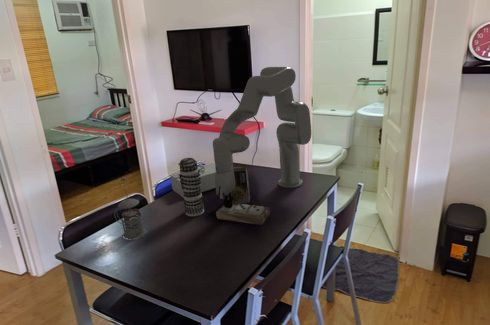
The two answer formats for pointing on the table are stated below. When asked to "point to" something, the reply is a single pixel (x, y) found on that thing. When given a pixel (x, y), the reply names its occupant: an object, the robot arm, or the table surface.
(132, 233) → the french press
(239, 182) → the coffee box
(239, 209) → the tile three
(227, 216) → the wooden dot tile board
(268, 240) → the table surface
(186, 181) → the decorative candle
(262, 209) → the tile two
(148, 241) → the table surface
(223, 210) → the tile one
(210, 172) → the tissue box
